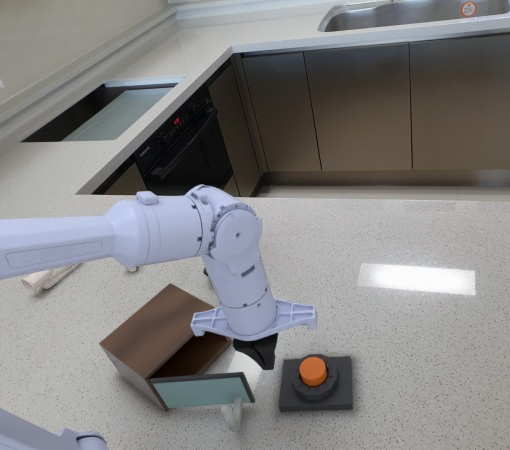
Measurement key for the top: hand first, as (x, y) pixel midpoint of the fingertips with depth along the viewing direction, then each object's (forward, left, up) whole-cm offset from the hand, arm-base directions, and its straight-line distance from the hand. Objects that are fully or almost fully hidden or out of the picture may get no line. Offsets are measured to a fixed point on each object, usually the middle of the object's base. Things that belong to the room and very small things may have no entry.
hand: (269, 363), depth 58 cm
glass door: (-8, +7, -9) cm, 14 cm away
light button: (+5, -2, -7) cm, 9 cm away
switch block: (+5, -2, -10) cm, 11 cm away
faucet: (+3, +53, -10) cm, 54 cm away
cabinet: (-3, +20, -10) cm, 22 cm away
